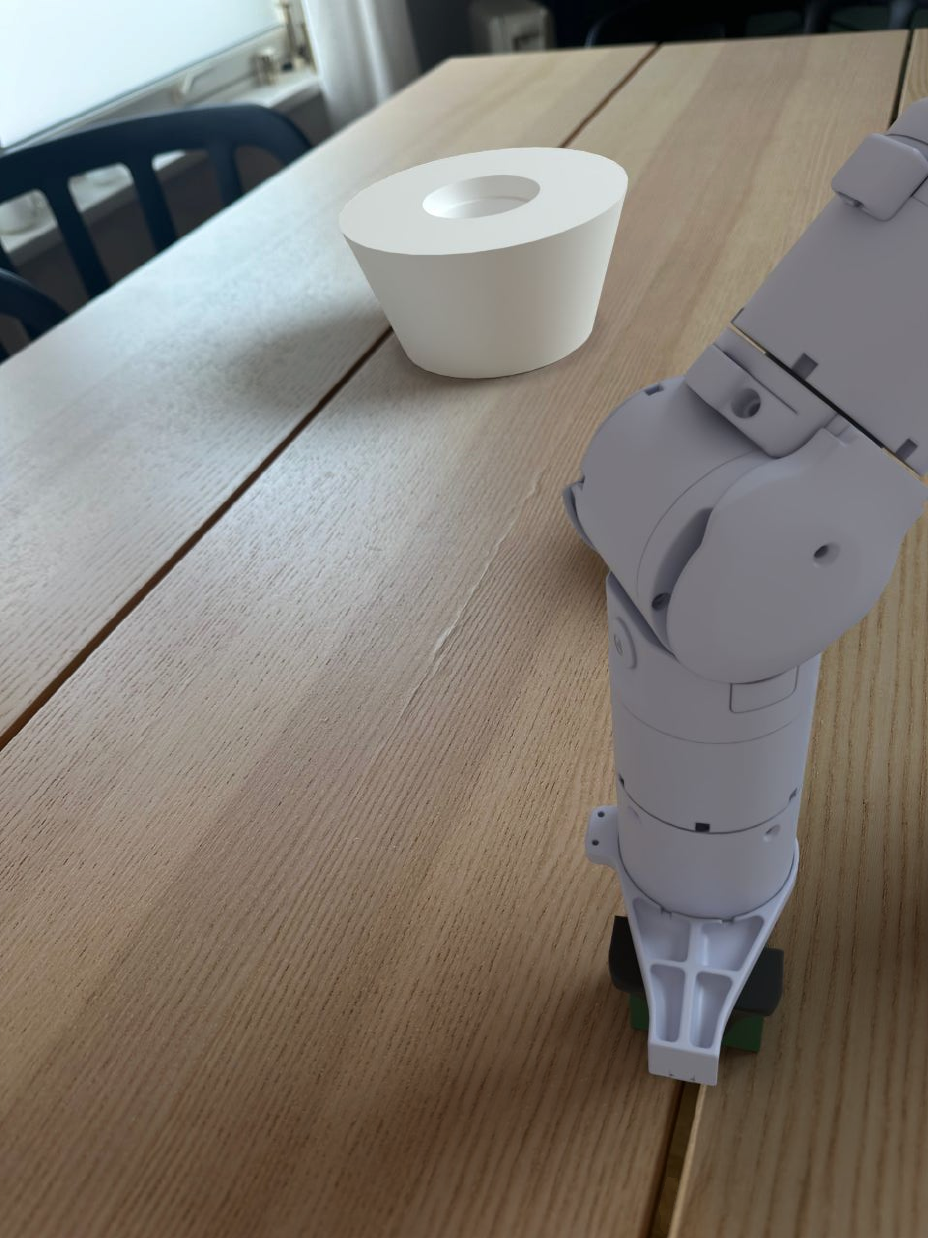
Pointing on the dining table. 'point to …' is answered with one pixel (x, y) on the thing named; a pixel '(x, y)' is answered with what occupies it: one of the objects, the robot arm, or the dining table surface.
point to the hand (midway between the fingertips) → (698, 979)
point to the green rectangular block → (740, 1036)
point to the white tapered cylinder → (489, 255)
